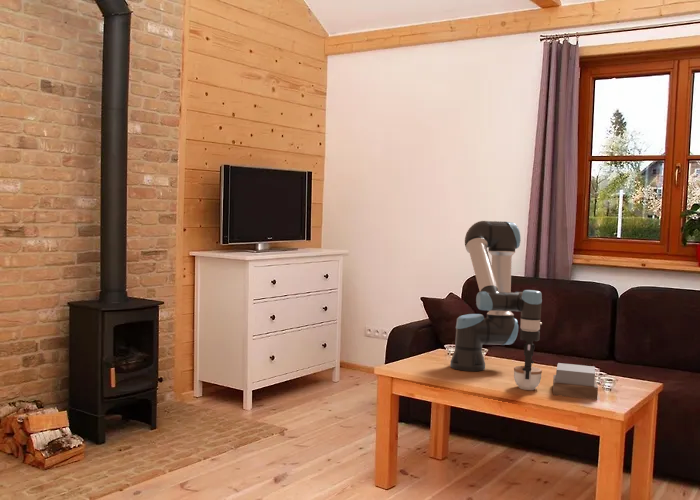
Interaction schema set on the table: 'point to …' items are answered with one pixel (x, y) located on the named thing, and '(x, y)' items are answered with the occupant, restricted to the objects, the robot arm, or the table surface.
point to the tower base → (575, 390)
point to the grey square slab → (575, 374)
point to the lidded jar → (534, 377)
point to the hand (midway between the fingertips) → (527, 383)
